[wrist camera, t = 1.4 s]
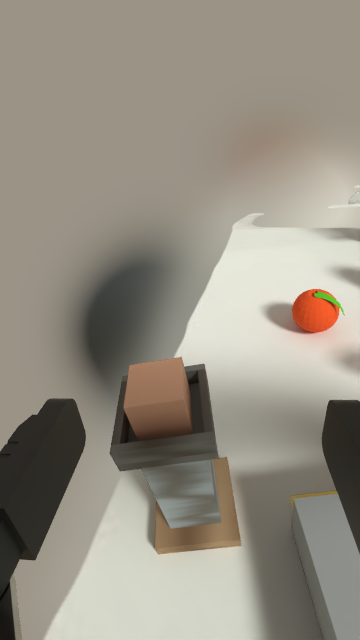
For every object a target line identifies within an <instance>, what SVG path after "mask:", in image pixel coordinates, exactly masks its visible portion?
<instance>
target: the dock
mask: <svg viewBox="0 0 360 640" xmlns="http://www.w3.org/2000/svg"><path fill="white" fill-rule="evenodd" d="M291 505H292V508H293V514H292V531H293V534H294V538H295V541H296V545H297V548H298V552H299V555H300V559H301V562H302V566H303V569H304V573H305V576H306V580H307V583H308V587H309V590H310V594H311V597H312V601H313V604H314V608H315V611H316V615H317V618H318V622H319V625H320V629H321V632H322V636H323V639H324V640H360V554H359V551H358V548H357V545H356V543H355V540H354V537H353V534H352V532H351V529H350V526H349V523H348V520H347V518H346V515H345V512H344V509H343V507H342V504H341V501H340V498H339V496H338V493H337V490H336V491H328V492H319V493H310V494H302V495H293V496H291Z"/></svg>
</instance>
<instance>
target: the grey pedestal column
mask: <svg viewBox="0 0 360 640" xmlns="http://www.w3.org/2000/svg"><path fill="white" fill-rule="evenodd" d="M184 368H185V373H186V377H187V381H188V385H189V389H190V394H191V407H192V421H193V434H190V435H182V436H175V437H168V438H160V439H153V440H146V441H138V439H137V437H136V435H135V433H134V430H133V428H132V426H131V424H130V422H129V420H128V417H127V415H126V413H125V411H124V409H123V407H124V400H125V394H126V387H127V380H128V376H123V377H122V384H121V389H120V395H119V401H118V407H117V413H116V419H115V425H114V431H113V437H112V443H111V449H110V455H111V456H112V458H113V460H114V462H115V464H116V465H117V467H118V469H119V471H126V470H134V469H141V470H142V472H143V474H144V476H145V478H146V480H147V482H148V484H149V486H150V488H151V490H152V492H153V494H154V496H155V498H156V530H155V549H156V551H157V553H158V554H166V553H175V552H185V551H195V550H204V549H214V548H223V547H233V546H241V540H240V534H239V528H238V522H237V516H236V509H235V503H234V497H233V491H232V485H231V479H230V472H229V466H228V460H227V457H224V458H218V452H217V445H216V438H215V430H214V423H213V416H212V408H211V401H210V394H209V387H208V380H207V375H206V370H205V365H204V364H199V365H193V366H186V367H184Z"/></svg>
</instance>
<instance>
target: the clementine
mask: <svg viewBox="0 0 360 640" xmlns="http://www.w3.org/2000/svg"><path fill="white" fill-rule="evenodd" d="M339 308H340V309H341V310H342V312H343V309H342V307H341V305H340V304H339V302H338V301H337V300H336V299H335V298H334V297H333V296H332V295H331V294H330V293H329V292H326V291H324V290H320V289H312V290H308V291H305V292H303V293H302V294H301V295H299V296H298V297H297V299H296V300H295V302H294V304H293V308H292V313H293V318H294V320H295V322H296V323H297V325H299V326H300V327H301V328H302V329H304V330H306V331H309V332H322V331H325V330H327V329H329V328H330V327H332V326H333V325H334V323H335V322H336V321H337V319H338V316H339ZM343 314H344V312H343Z"/></svg>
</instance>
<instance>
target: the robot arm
mask: <svg viewBox="0 0 360 640" xmlns="http://www.w3.org/2000/svg"><path fill="white" fill-rule="evenodd" d="M85 435H86V434H85V429H84V426H83V423H82V420H81V417H80V414H79V411H78V408H77V405H76V402H75V400H74V399H49V400H47V401H46V403H45V404H44V405H43V407H42V408H41V410H40V411H39V413H38V414H37V415H32V416H30V417H29V418H28V419H27V420H26V421H25V422H23V423H22V424H21V425H20V426H19V427H18V428H17V429H16V431H15V432H14V433H13V435H12V436H11V437H10V439H9V440H8V443H7V445H5V446H4V447H3V449H2V450H1V451H0V640H22V635H21V627H20V617H19V608H18V599H17V590H16V581H15V576H14V574H13V572H14V570H15V568H16V566H17V564H18V562H19V559H24V560H36V558H37V555H38V553H39V551H40V548H41V546H42V544H43V541H44V539H45V537H46V534H47V532H48V530H49V528H50V525H51V523H52V520H53V519H54V516H55V514H56V511H57V509H58V507H59V505H60V502H61V500H62V498H63V496H64V493H65V491H66V488H67V486H68V484H69V482H70V479H71V477H72V475H73V473H74V470H75V468H76V466H77V463H78V461H79V459H80V457H81V454H82V452H83V449H84V446H85V439H86V436H85ZM322 447H323V453H324V456H325V459H326V462H327V465H328V468H329V471H330V473H331V476H332V479H333V482H334V484H335V487H336V490H337V493H338V496H339V498H340V501H341V504H342V507H343V509H344V512H345V515H346V518H347V520H348V523H349V526H350V529H351V532H352V534H353V537H354V540H355V543H356V545H357V548H358V551H359V554H360V401H358V400H330V401H329V403H328V406H327V412H326V417H325V422H324V428H323V433H322Z"/></svg>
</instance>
